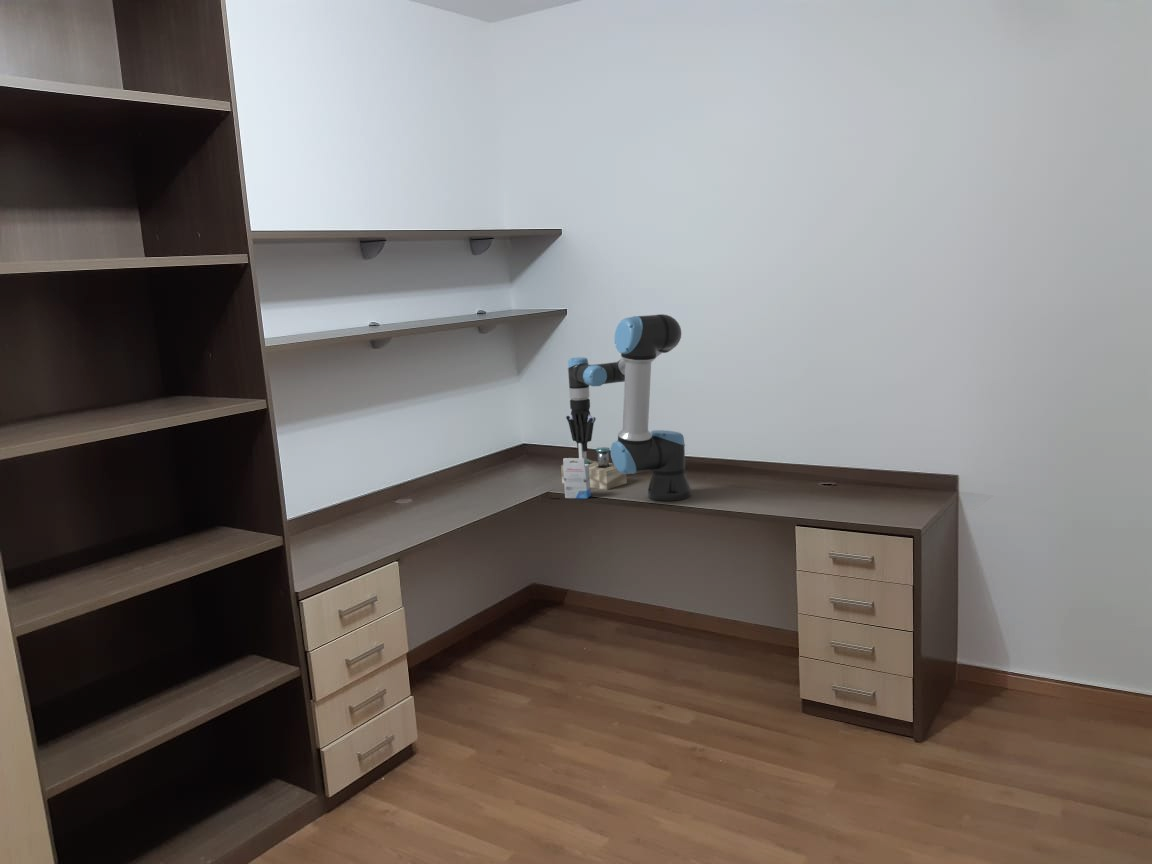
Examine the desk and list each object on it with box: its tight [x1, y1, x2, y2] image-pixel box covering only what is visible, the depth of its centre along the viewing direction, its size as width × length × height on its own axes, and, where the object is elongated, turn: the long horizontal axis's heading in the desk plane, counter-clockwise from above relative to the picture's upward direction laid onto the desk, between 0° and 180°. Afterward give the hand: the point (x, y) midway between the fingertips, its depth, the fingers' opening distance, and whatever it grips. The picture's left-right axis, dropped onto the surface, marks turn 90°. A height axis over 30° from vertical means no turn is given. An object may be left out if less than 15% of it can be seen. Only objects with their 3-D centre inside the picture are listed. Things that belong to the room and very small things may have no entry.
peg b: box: [595, 446, 611, 468], centre depth 340 cm, size 5×5×8 cm
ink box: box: [562, 457, 592, 500], centre depth 325 cm, size 9×5×15 cm, turn 71°
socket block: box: [560, 460, 628, 491], centre depth 345 cm, size 22×12×7 cm, turn 49°
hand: (582, 459), depth 347 cm, fingers closed
